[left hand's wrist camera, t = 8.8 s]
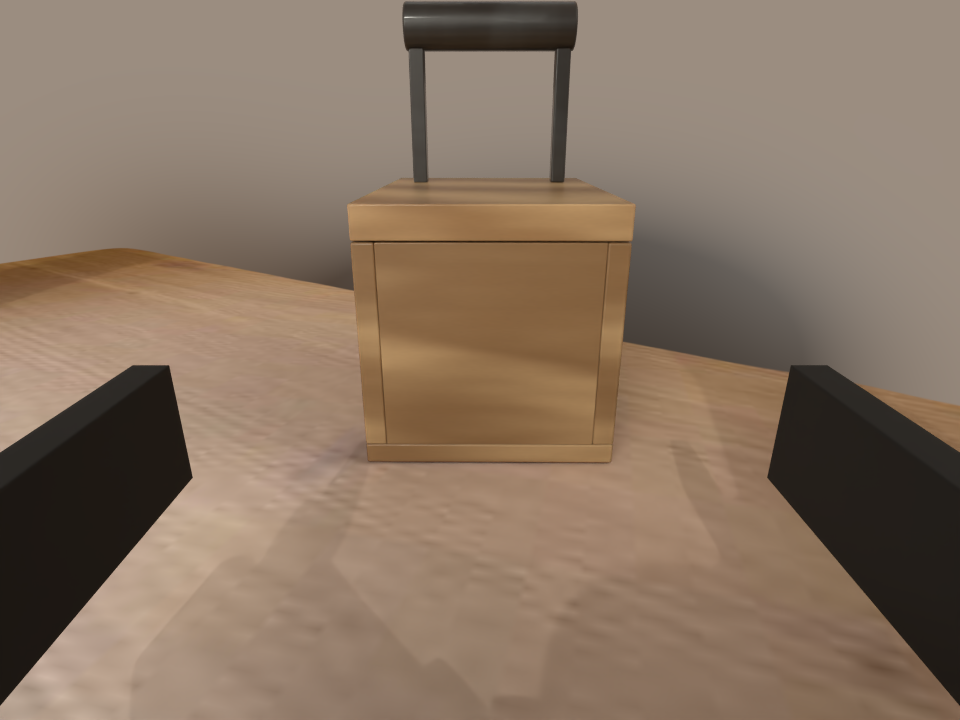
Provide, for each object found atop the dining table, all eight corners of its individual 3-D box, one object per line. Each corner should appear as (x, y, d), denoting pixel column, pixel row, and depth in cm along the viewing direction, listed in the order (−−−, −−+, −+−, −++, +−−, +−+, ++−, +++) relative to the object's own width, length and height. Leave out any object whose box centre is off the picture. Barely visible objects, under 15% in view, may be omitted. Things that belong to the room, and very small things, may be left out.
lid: (401, 201, 33) (393, 15, 30) (575, 201, 33) (586, 15, 30) (349, 241, 20) (323, -78, 17) (632, 241, 20) (663, -78, 17)
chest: (407, 351, 36) (400, 203, 33) (568, 351, 36) (576, 203, 32) (367, 462, 24) (349, 242, 20) (611, 463, 23) (632, 243, 20)
